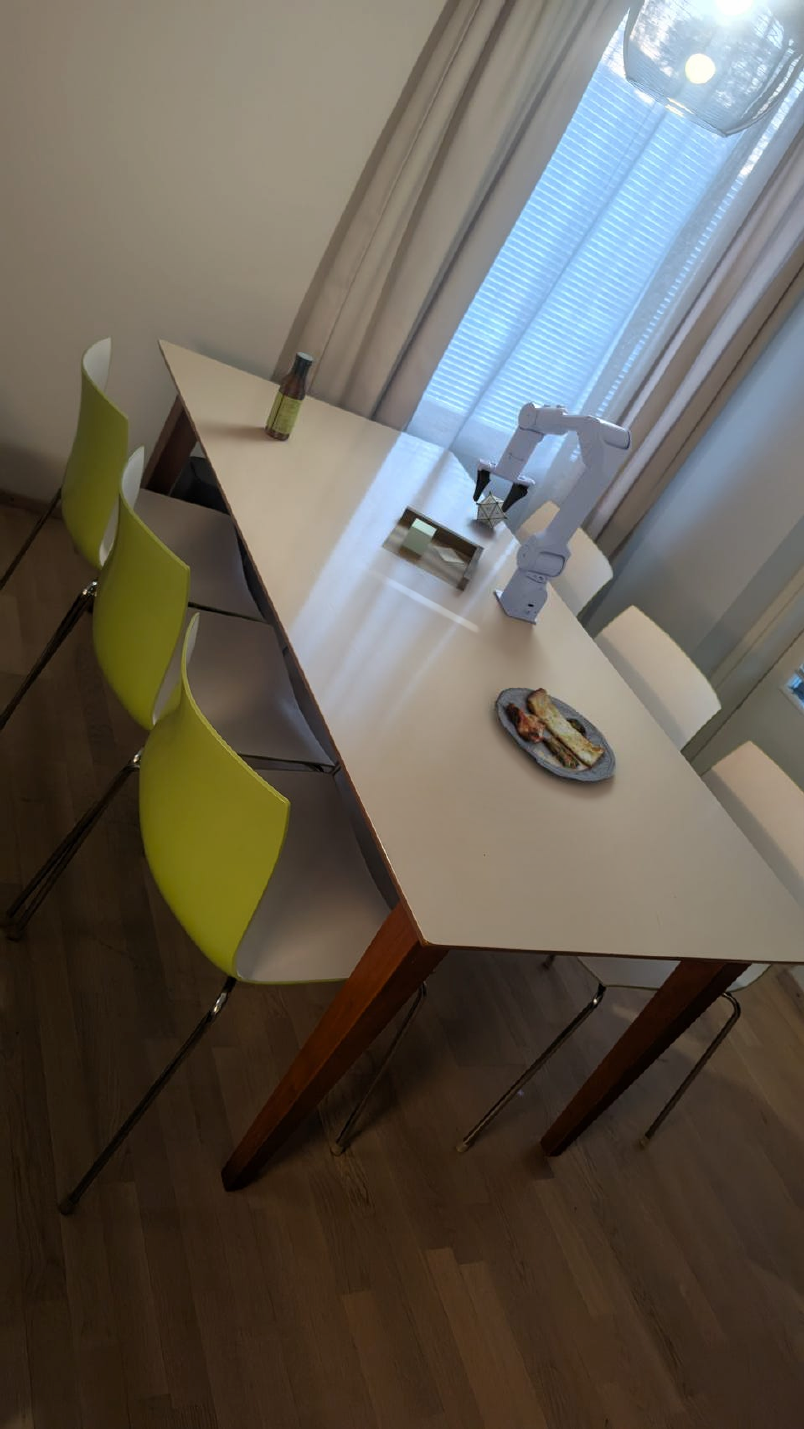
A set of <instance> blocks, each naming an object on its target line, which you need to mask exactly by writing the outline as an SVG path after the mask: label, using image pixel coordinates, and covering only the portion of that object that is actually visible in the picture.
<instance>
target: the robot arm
mask: <svg viewBox="0 0 804 1429" xmlns="http://www.w3.org/2000/svg"><path fill="white" fill-rule="evenodd" d="M517 417H518V418H517V423H518V425H517V426H516V427H517V428H516V429H515V432H513V435H512V436H511V439H510V441H509V442H508V444H507V445H506V448H505V450H504V451H503V452H502V455H501V457H500V459H499V460H498V462H497V463H496V462H493V461H488V460H484V459H482V458H478V461H477V462H476V464H475V468H476V472H477V473H476V482H475V488H474V493H473V495H472V500H473V501H474V502H475V503H478V501H479V500H480V498H481V496H482V494H483V492H484V490H485V488H486V487H487V486H488V484H489V483H490V482H491V475H492V476H495V477H497V478H498V477H499V478H501V479H503V480H506V481H509V482H510V483H512V486H511V487H510V489H509V490H510V491H509V493H507V494H508V495H507V496H506V498H505V500H503V501H504V503H503V505H502V507H501V509H502V512H504V513H505V514H506V513H507V511H508V510H510V508H512V506H514V505H515V503H517V502H519V500H521V499H523V498H524V497H526V496H527V494H528V493H529V491H530V492H532V491H533V489H534V487H535V486H536V482H535V481H534V480H533V479H532V478H529V477H527V476H525V475H523V474H522V472H523V470H524V468H525V466H526V465H527V463H528V461H529V460H530V458H531V456H532V455H533V452H534V451H535V449H536V447H537V446H538V443H541V442H542V441H543V440H544V438H545V437H546V436H548V435H552V436H565V435H566V434H567V433H568V432H573V433H576V435H577V436H578V443H579V444H578V445H579V449H580V453H581V458H582V462H583V463H584V465H585V466H586V471H585V472H584V473H583V475H582V477H581V478H580V480H579V481H578V482H577V484H576V485H575V486H574V488H573V489H572V491H571V492H570V494H569V495H568V497H567V499H566V500H564V503H563V504H562V505H561V507H560V508H559V510H558V511H557V513H556V514H555V516H554V517H553V518H552V520H551V521H550V523H549V524H548V526H547V527H546V529H543V530H540V531H538V532H535V533H533V534H530V537H529V538H528V539H527V540H526V541H525V542H523V543H522V544H521V545H520V546H519V548H518V550H517V553H516V558H515V559H516V565H517V568H516V569H515V571H514V573H513V574H512V576H511V578H510V579H509V580H508V583H507V584H506V585H505V588H504V589H503V591H502V590H498V589H494V594H495V596H496V597H497V599H498V601H499V603H500V604H501V606H502V608H503V610H504V612H505V614H506V615H507V616H509V617H513V618H516V619H520V620H524V621H528V622H531V623H535V624H536V623H538V620H537V617H538V615H539V613H540V612H541V610H542V609H543V607H544V606H545V605H546V604H545V603H547V600H548V597H549V594H548V591H547V584H548V582H552V580H553V578H555V579H556V578H558V577H560V576H561V575H563V572H564V571H565V569H566V566H567V563H568V561H569V559H570V558H571V556H572V553H571V548H570V546H569V542H570V540H571V539H572V538H573V536H574V535H575V533H576V532H577V531H578V529H579V528H580V526H581V525H582V523H583V522H584V521H585V520H586V518H587V516H588V515H589V514H590V512H591V511H592V510H593V508H594V507H595V505H596V504H597V503H598V501H599V500H600V498H602V495H603V494H604V492H606V490H607V488H608V487H609V486H610V484H611V483H612V481H613V480H614V478H615V477H616V475H617V471H618V470H619V469H620V467H621V466H622V464H623V463H624V462H625V461H626V459H627V458H628V457H629V455H630V453H632V451H633V440H632V439H633V435H632V432H631V431H630V429H629V428H626V427H621V426H619V425H617V424H614V423H611V422H609V421H607V420H604V419H601V418H598V417H595V416H592V415H590V414H589V415H588V414H572V413H571V412H570V410H568V409H566V406H564V405H562V404H556V407H555V406H554V407H553V406H551V405H550V404H548V403H547V404H546V403H545V404H543V405H542V406H541V405H538V404H536V403H534V402H533V401H531V402H527V403H525V404H524V405H522V407H521V408H520V411H519V413H518V416H517ZM528 490H529V491H528Z"/></svg>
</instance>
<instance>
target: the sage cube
mask: <svg viewBox="0 0 804 1429" xmlns="http://www.w3.org/2000/svg"><path fill="white" fill-rule="evenodd" d="M435 531H436V529H435V528H433V527H431V526H430V525H428V524H426V523H424V522H422V521H421V520H419V519H417V518H416V520H415V521H414V523H413V524H412V526H411V528H410V530H409V532H408V534H407V536H406V538H405V540H404V542H403V544H402V545H403V546H405V547H407V548H409V549H411V550H413V551H414V552H416V553H418V554H420V555H423V553H424V552H425V550H426V548H427V546H428V544H429V543H430V541H431V539H432V537H433V535H434V533H435Z"/></svg>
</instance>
